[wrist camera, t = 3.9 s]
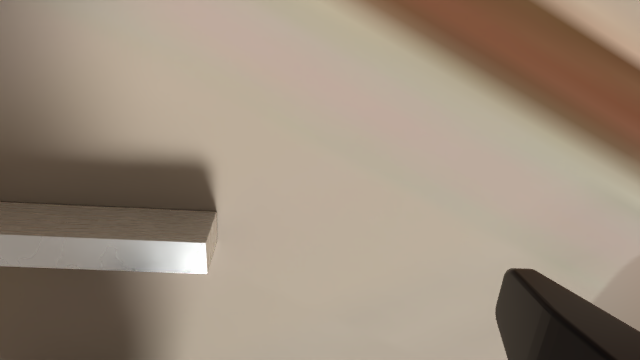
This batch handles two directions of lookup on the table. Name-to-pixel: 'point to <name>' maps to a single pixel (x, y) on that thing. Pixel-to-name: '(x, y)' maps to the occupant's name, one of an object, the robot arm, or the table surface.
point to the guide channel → (106, 238)
